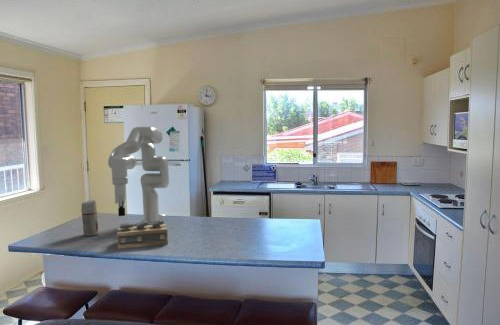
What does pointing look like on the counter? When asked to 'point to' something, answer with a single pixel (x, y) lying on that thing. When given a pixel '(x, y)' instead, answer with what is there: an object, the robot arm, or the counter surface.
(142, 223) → the rocker middle
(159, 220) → the rocker right
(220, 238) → the counter surface
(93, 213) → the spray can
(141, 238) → the switch unit
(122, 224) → the rocker left
